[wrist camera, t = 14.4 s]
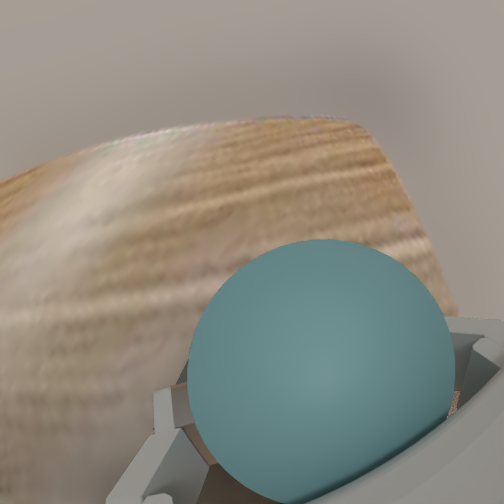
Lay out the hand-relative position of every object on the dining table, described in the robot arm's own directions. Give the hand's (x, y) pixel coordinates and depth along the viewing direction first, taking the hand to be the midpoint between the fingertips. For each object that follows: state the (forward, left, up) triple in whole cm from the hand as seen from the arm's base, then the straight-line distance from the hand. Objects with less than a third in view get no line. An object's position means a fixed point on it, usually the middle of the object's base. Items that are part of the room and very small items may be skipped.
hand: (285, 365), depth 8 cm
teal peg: (0, 0, -6) cm, 6 cm away
